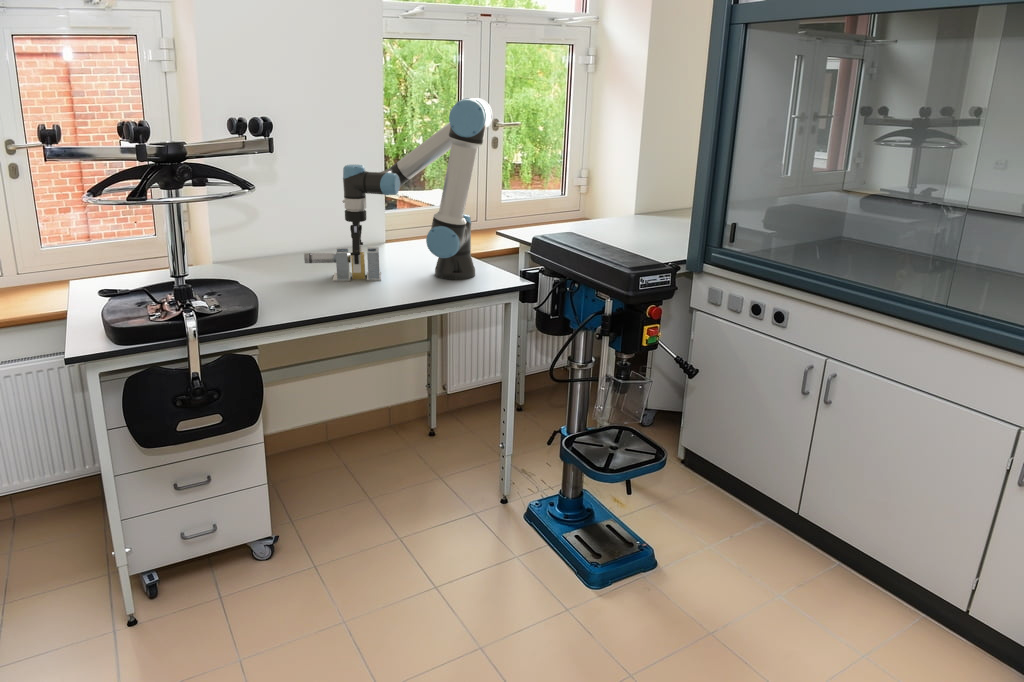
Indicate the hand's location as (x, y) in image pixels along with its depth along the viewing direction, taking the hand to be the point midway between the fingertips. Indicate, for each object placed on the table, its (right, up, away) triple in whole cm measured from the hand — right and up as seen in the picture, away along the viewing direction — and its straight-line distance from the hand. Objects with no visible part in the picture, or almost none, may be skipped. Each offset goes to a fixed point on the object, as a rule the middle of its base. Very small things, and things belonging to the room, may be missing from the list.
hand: (357, 267), depth 269 cm
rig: (0, -4, +1) cm, 4 cm away
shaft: (-10, +1, -2) cm, 11 cm away
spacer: (0, -4, +1) cm, 4 cm away
